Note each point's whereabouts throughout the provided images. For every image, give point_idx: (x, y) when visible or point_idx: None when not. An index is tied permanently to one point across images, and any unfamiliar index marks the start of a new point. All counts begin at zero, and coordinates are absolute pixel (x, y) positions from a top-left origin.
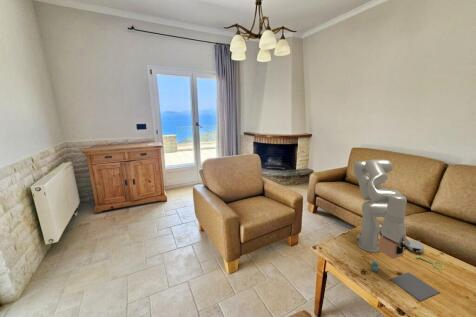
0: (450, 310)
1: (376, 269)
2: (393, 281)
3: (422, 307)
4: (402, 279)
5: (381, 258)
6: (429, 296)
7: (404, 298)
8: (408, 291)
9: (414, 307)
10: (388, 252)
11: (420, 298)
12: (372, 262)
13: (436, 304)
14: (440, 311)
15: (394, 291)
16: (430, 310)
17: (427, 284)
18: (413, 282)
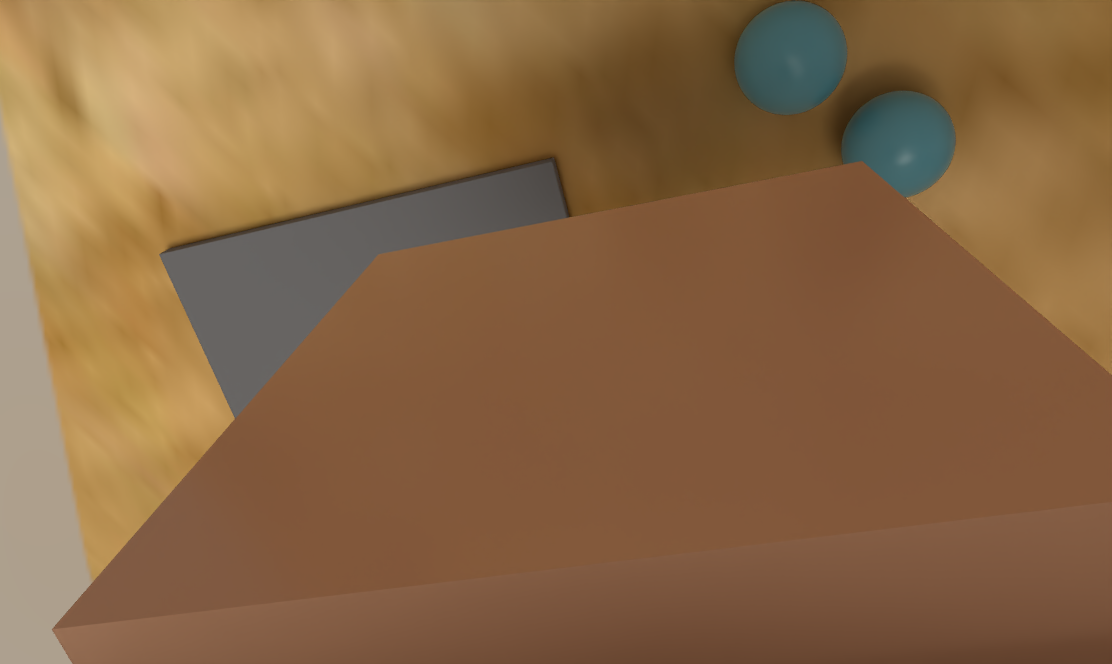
0: (89, 460)
1: (745, 48)
2: (497, 174)
3: (83, 201)
4: None
5: None
6: (235, 416)
7: (204, 85)
8: (304, 234)
9: (67, 96)
10: (501, 273)
11: (195, 287)
12: (938, 111)
13: (151, 396)
14: (58, 352)
15: (325, 38)
16: (53, 257)
17: None
18: None
